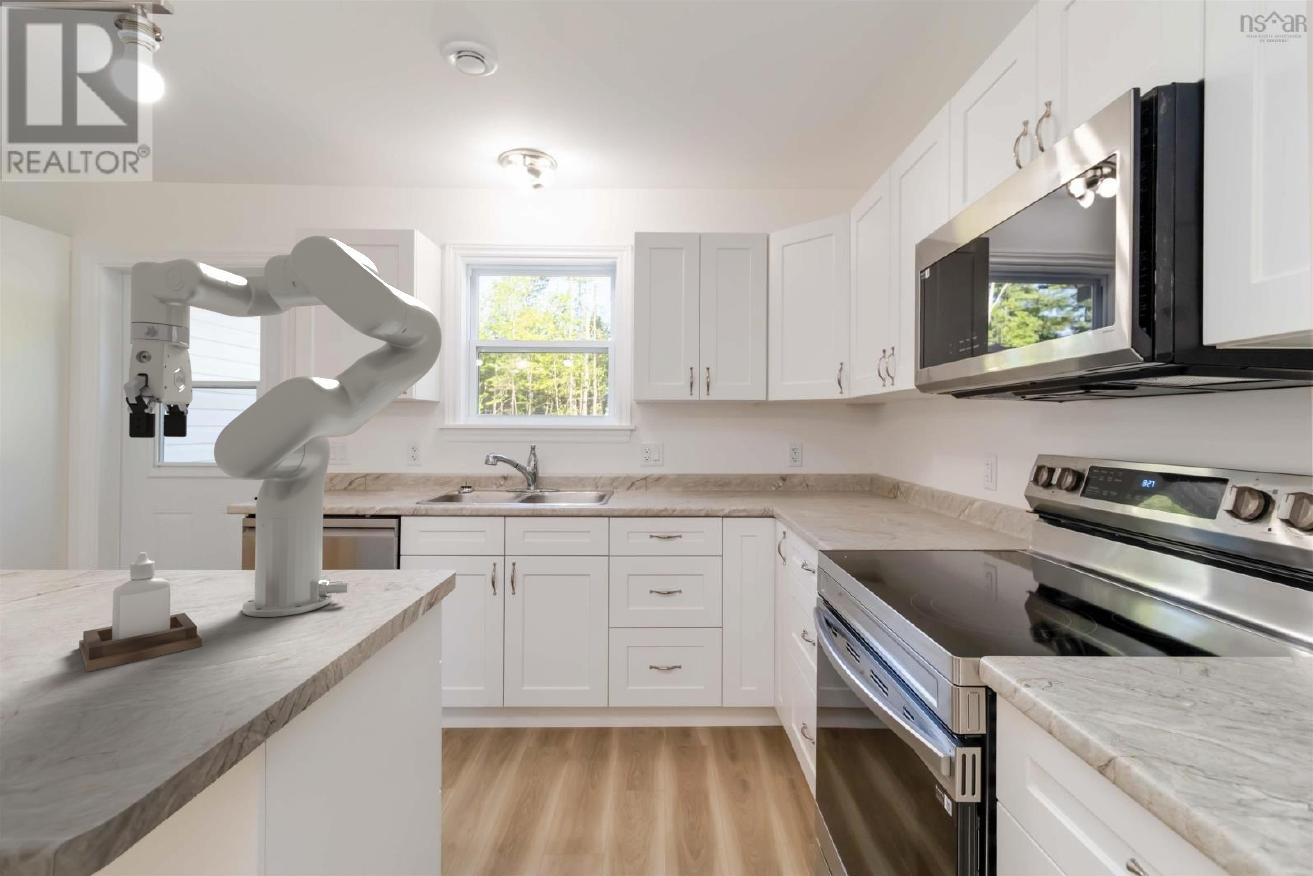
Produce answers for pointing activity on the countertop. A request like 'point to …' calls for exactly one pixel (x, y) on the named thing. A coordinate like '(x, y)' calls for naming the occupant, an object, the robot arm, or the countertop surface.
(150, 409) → the robot arm
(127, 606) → the eye dropper bottle
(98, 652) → the pocket plate
